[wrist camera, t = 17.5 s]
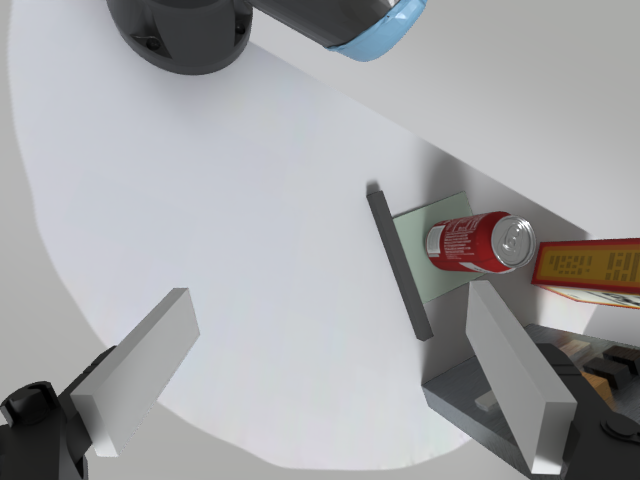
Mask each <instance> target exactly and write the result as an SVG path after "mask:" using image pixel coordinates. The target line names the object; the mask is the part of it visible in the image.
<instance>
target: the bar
mask: <svg viewBox="0 0 640 480" xmlns="http://www.w3.org/2000/svg"><path fill="white" fill-rule="evenodd" d="M366 197H367V200H368V202H369V205H370V208H371V211H372V214H373V217H374V219H375V222H376V225H377V228H378V231H379V233H380V236H381V239H382V242H383V245H384V247H385V250H386V253H387V256H388V259H389V261H390V264H391V267H392V270H393V273H394V276H395V278H396V281H397V284H398V287H399V290H400V292H401V295H402V298H403V301H404V304H405V306H406V309H407V312H408V315H409V318H410V320H411V323H412V326H413V329H414V332H415V335H416V337H417V339H419V340H422V341H425V340H427V339H429V338H431V337H433V336H434V335H433V333H432V330H431V327H430V324H429V321H428V318H427V316H426V313H425V310H424V307H423V304H422V301H421V299H420V296H419V293H418V290H417V287H416V284H415V282H414V279H413V276H412V273H411V270H410V267H409V265H408V262H407V259H406V256H405V253H404V250H403V248H402V245H401V242H400V239H399V236H398V233H397V231H396V228H395V225H394V222H393V219H392V216H391V214H390V211H389V208H388V205H387V202H386V199H385V197H384V194H383V191H379V192H376V193H374V194H371V195H369V196H366Z"/></svg>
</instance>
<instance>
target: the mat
mask: <svg viewBox="0 0 640 480" xmlns="http://www.w3.org/2000/svg"><path fill="white" fill-rule="evenodd" d="M468 216H473V215H472V212H471V209H470V206H469V203H468V200H467V197H466V194H465V191H464V192H461V193H458V194H456V195H453V196H451V197H448V198H446V199H443V200H440V201H438V202H435V203H433V204H430V205H428V206H425V207H423V208H420V209H417V210H415V211H412V212H410V213H407V214H405V215H402V216H399V217H397V218H394V219H393V222H394V225H395V228H396V231H397V233H398V236H399V239H400V242H401V245H402V248H403V250H404V253H405V256H406V259H407V262H408V265H409V267H410V270H411V273H412V276H413V279H414V282H415V284H416V287H417V290H418V293H419V296H420V299H421V301H422V304H424V303H426V302H428V301H431V300H433V299H435V298H437V297H439V296H441V295H443V294H445V293H447V292H449V291H451V290H453V289H455V288H457V287H459V286H462V285H464V284H466V283H468V282H470V281H472V280H474V279H476V278H478V277H480V276H482V275H484V274H486V273H480V272H461V271H445V270H441V269H438V268H437V267H435V266H434V265H433V264H432V263H431V262H430V260H429V259H428V257H427V254H426V251H425V239H426V235H427V233H428V231H429V230H430V228H431V227H432V226H433V225H434V224H436V223H438V222H440V221H445V220H451V219H456V218H462V217H468Z"/></svg>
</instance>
